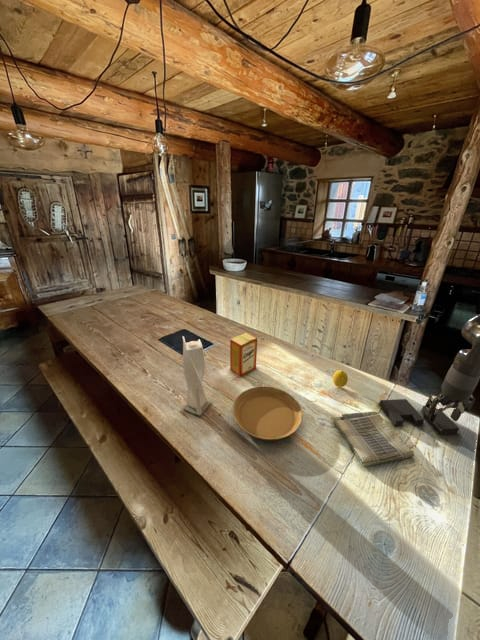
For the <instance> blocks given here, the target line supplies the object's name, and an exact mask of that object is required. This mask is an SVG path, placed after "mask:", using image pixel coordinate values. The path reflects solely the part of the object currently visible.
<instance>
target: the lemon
mask: <svg viewBox="0 0 480 640" xmlns="http://www.w3.org/2000/svg"><path fill="white" fill-rule="evenodd" d="M348 377H349V376H348V374H347V372H346V371H344V370H341V369H340V370H336V371H335V373H334V374H333V376H332V382H333V384H334V385H335V386H336V387H338V388H343V387H345V386H346V385H347V384H348V380H349V378H348Z"/></svg>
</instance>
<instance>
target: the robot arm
mask: <svg viewBox="0 0 480 640" xmlns="http://www.w3.org/2000/svg"><path fill="white" fill-rule="evenodd" d="M461 336H462V337H463V339H465V340H466V341H467V342H468V343H469V344H471V345H472V347H471V349H468V348H465V349H463V348H462V349H461V350H459V351H458V352H457V353H456V355H455V357H454V360H453V361H452V364H451V366H450V368H449V369H448V371H447V373H446V375H445V377H444V380H443V381H442V384H441V386H440V389H441V392H440V393H439V395H435V394H433V393H431V394H429V397H428V399H427V400H426V402H425V404H424V406H425V409H426V410H427V411H428V414H427V419H428V420H429V421H430V422H434V420H435V418H436V416H437V414H438V413H439V412H440V411H442V412H445V411H446V410H447V409H452V412H451V414H450V415H449V418H450V419H451V420H452V421H453V422H458V421H459V419H460V418H461V415H462V414H465V412H467V413H469V412H471V410H472V408H473V405H474V403H475V401H476V397H474V395H473V393H474V391H475V389H476V388H477V385H478V383H479V381H480V314H478V315H476V316H474V317H473V318H471V319H469V320H468V321H467V322H466V323H465V324H464V325H463V327H462V329H461ZM429 406H430V407H429ZM435 407H436V408H437V409H436V410H435Z"/></svg>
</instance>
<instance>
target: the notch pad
mask: <svg viewBox="0 0 480 640" xmlns="http://www.w3.org/2000/svg"><path fill="white" fill-rule="evenodd" d="M378 406H379V407H380V409H381V410H382V412H384V414H385V416H386V417H387V419H389V421H390V422H391V423H392V425H393V426H394V427H403V425H404V422H405V421H411V422H412V424H413V425H414V426H423V424H424V422H425V418H424V416H423V415H421V414H420V413H419V411H418V410H417V409H416V408H415V407H414V406H413V405H412V404H411V403H410V401H408V399H407V398H399V399H380V401H379V404H378Z"/></svg>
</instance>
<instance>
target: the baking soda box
mask: <svg viewBox="0 0 480 640" xmlns="http://www.w3.org/2000/svg"><path fill="white" fill-rule="evenodd" d="M257 351H258V337H257V336H255V335H253V334H251V333H249V332H244V333H242V334H240V335H237V336H234V337H233V338H230V339H229V354H230V355H229V356H230V358H229V361H230V362H229V363H230V364H229V367H230V368H229V369H230V371H231V372H232V373H234V374H235V375H237V376H238V377H239V378H241V377H243V376H245V375H246V374H249V373H250V372H252V371H253V370H256V368H257V355H258V354H257V353H258V352H257Z"/></svg>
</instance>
